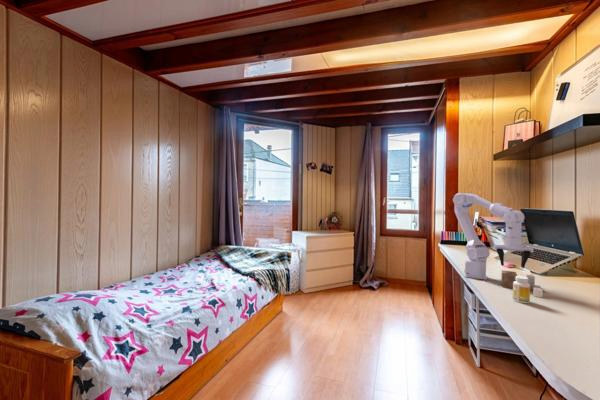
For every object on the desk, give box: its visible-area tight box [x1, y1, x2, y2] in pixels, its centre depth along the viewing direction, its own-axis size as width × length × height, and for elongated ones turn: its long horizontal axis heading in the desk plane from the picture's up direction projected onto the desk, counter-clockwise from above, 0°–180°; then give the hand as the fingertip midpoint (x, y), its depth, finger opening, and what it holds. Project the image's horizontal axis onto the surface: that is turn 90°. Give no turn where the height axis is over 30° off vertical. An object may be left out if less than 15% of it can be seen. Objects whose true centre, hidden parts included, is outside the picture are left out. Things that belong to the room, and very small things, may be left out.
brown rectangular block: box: [500, 270, 518, 290], centre depth 130 cm, size 5×5×7 cm
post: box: [525, 274, 545, 294], centre depth 128 cm, size 8×8×6 cm
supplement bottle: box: [512, 275, 531, 304], centre depth 113 cm, size 5×5×10 cm
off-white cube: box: [532, 287, 544, 298], centre depth 118 cm, size 3×3×3 cm
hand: (512, 266), depth 130 cm, fingers open, 7 cm apart
